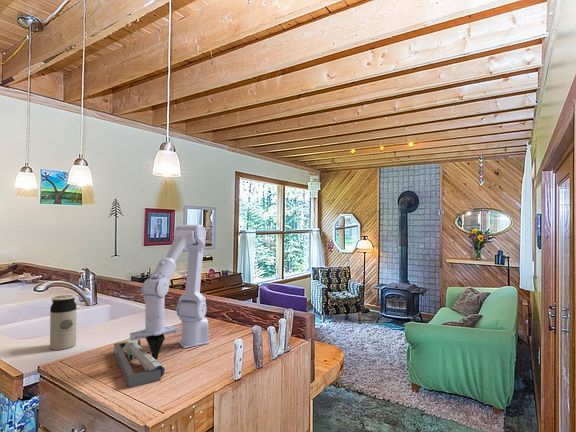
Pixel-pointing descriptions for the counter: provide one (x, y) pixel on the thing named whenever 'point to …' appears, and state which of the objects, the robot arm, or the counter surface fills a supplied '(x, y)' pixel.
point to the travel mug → (63, 322)
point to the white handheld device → (141, 356)
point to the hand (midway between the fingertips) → (154, 358)
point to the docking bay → (128, 372)
